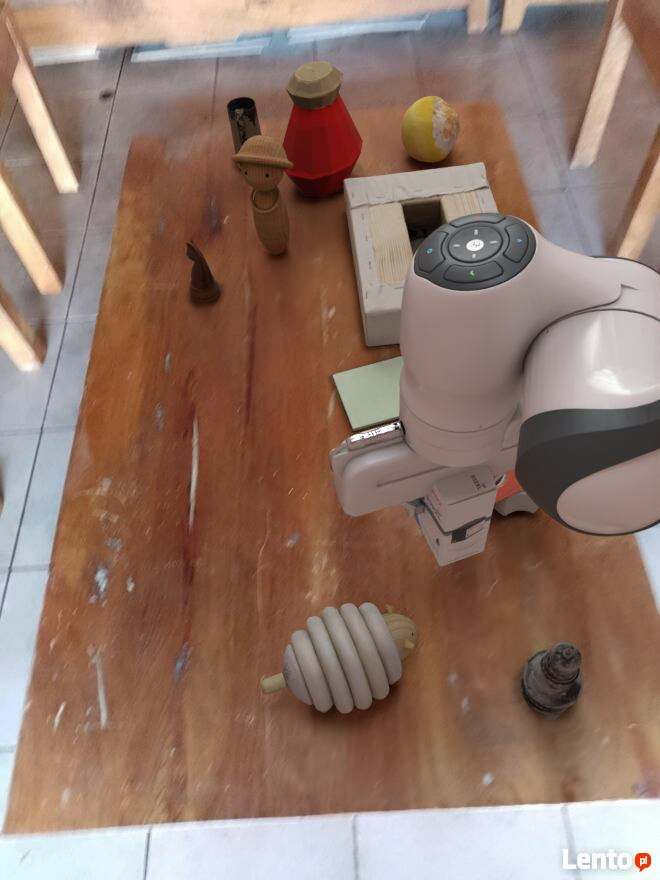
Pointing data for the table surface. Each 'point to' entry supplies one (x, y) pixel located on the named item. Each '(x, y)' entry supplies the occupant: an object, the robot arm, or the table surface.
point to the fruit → (430, 129)
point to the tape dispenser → (512, 496)
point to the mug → (243, 121)
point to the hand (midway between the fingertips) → (446, 499)
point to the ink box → (458, 515)
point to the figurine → (266, 189)
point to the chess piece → (201, 277)
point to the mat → (370, 392)
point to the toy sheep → (345, 657)
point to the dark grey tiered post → (553, 679)
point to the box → (403, 232)
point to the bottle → (319, 131)
